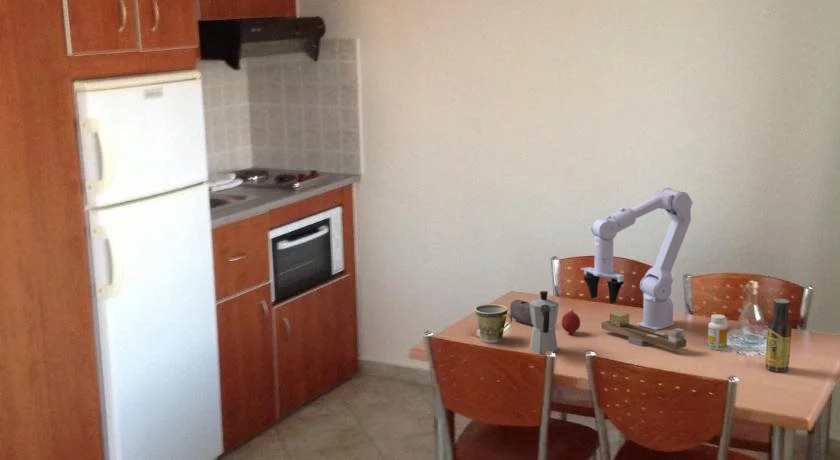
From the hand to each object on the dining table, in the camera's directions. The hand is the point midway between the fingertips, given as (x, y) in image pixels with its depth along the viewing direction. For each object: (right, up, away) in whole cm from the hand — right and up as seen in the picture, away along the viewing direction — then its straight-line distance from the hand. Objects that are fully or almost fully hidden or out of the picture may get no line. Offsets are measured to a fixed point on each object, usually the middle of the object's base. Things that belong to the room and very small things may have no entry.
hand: (603, 300), depth 297 cm
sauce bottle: (+41, -17, -35) cm, 57 cm away
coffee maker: (-21, -14, -15) cm, 29 cm away
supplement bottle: (+31, -13, -15) cm, 37 cm away
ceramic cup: (-34, -12, -4) cm, 37 cm away
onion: (-10, -11, +1) cm, 15 cm away
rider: (+5, -9, -2) cm, 10 cm away
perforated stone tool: (-22, -9, +12) cm, 26 cm away
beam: (+10, -12, -9) cm, 18 cm away
